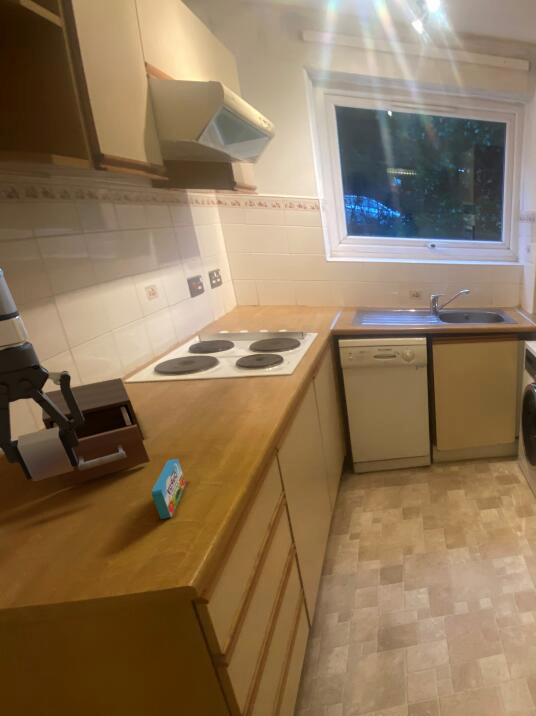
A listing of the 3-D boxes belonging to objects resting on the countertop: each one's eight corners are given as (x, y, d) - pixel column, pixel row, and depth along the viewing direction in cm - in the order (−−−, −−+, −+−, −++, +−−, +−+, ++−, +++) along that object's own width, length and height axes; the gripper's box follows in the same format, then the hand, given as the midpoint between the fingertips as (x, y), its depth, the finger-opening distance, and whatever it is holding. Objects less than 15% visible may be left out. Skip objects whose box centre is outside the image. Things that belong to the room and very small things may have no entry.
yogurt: (171, 518, 80) (161, 490, 78) (161, 520, 80) (151, 492, 77) (185, 483, 90) (177, 457, 88) (177, 484, 90) (168, 459, 87)
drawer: (154, 472, 92) (140, 435, 89) (66, 499, 83) (47, 460, 80) (138, 432, 108) (126, 400, 105) (63, 452, 99) (47, 417, 96)
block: (34, 481, 75) (17, 446, 72) (34, 470, 78) (18, 436, 75) (73, 470, 78) (58, 436, 75) (72, 459, 81) (58, 426, 79)
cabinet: (144, 439, 107) (130, 399, 103) (61, 462, 97) (42, 419, 93) (133, 413, 120) (120, 377, 116) (59, 431, 110) (42, 393, 106)
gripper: (-101, 364, 61) (-25, 500, 70) (75, 339, 73) (121, 458, 81) (-90, 351, 66) (-21, 480, 74) (73, 330, 77) (116, 443, 86)
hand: (53, 468), depth 78 cm, fingers closed on block, 5 cm apart
